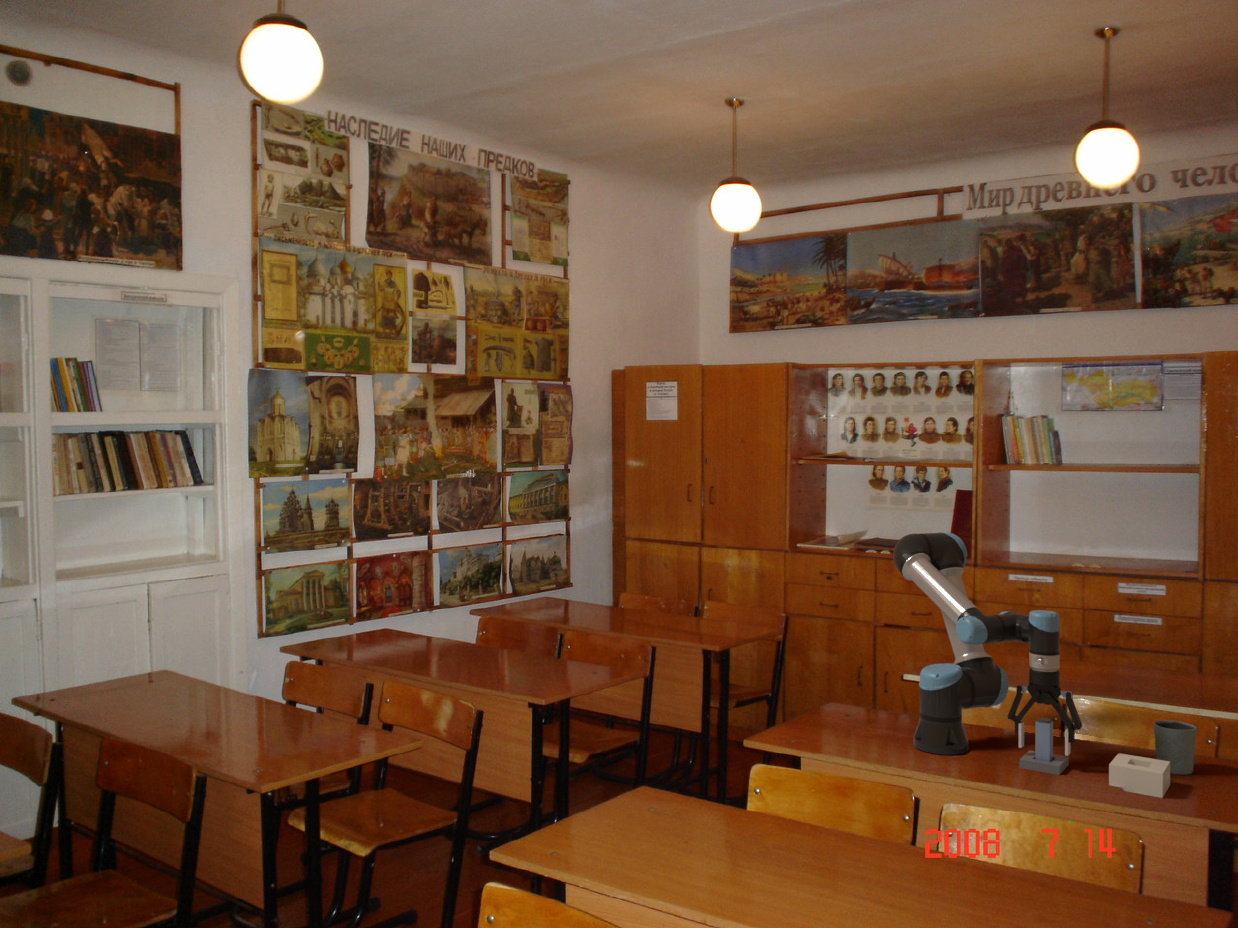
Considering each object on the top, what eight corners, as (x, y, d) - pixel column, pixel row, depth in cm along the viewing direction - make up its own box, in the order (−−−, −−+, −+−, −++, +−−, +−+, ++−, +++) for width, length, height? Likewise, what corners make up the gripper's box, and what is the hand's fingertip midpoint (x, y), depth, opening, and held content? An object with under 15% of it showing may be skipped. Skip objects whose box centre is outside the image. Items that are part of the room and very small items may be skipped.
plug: (1035, 766, 264) (1035, 719, 264) (1038, 763, 267) (1038, 716, 267) (1049, 769, 262) (1049, 721, 262) (1052, 765, 264) (1053, 718, 264)
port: (1108, 788, 249) (1109, 764, 249) (1118, 775, 259) (1118, 752, 259) (1162, 797, 242) (1162, 773, 242) (1170, 784, 251) (1170, 761, 251)
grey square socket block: (1019, 770, 263) (1019, 759, 263) (1029, 760, 271) (1029, 750, 271) (1059, 777, 257) (1059, 766, 257) (1068, 767, 265) (1068, 756, 265)
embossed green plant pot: (1155, 772, 261) (1155, 727, 261) (1150, 761, 271) (1151, 718, 270) (1199, 777, 257) (1199, 731, 257) (1193, 765, 267) (1193, 721, 267)
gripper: (995, 665, 268) (995, 745, 268) (1088, 677, 254) (1088, 761, 254) (1003, 661, 274) (1003, 739, 274) (1095, 672, 260) (1094, 754, 260)
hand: (1044, 750), depth 264 cm, fingers open, 11 cm apart
